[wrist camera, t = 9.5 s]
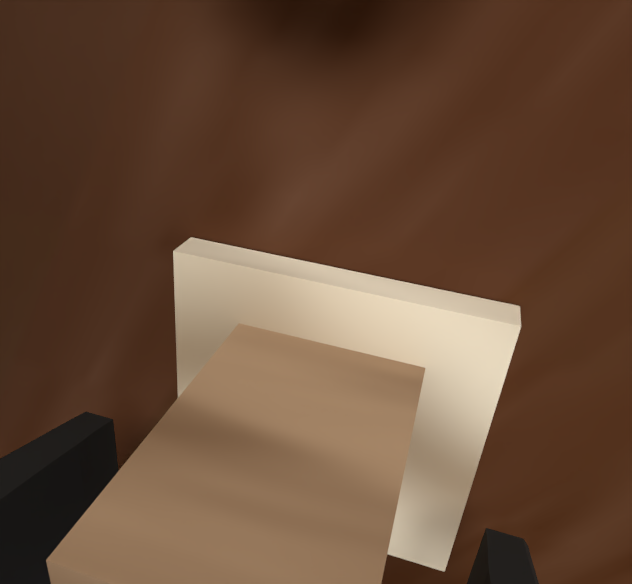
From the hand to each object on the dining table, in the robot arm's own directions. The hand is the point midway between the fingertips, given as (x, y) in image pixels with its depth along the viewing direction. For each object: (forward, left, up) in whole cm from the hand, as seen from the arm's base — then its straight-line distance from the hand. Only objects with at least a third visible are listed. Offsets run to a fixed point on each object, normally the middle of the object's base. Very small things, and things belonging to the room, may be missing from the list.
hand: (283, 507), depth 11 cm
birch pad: (0, 0, -3) cm, 3 cm away
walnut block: (0, 0, -2) cm, 3 cm away
